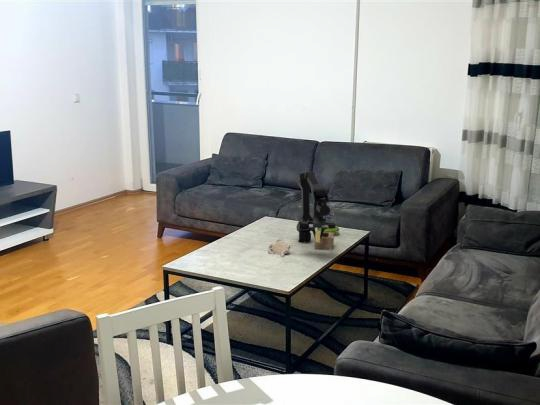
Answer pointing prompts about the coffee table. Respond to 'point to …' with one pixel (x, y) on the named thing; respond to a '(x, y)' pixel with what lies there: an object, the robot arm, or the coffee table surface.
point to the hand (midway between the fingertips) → (317, 238)
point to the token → (317, 236)
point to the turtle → (280, 247)
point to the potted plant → (328, 221)
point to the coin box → (325, 241)
